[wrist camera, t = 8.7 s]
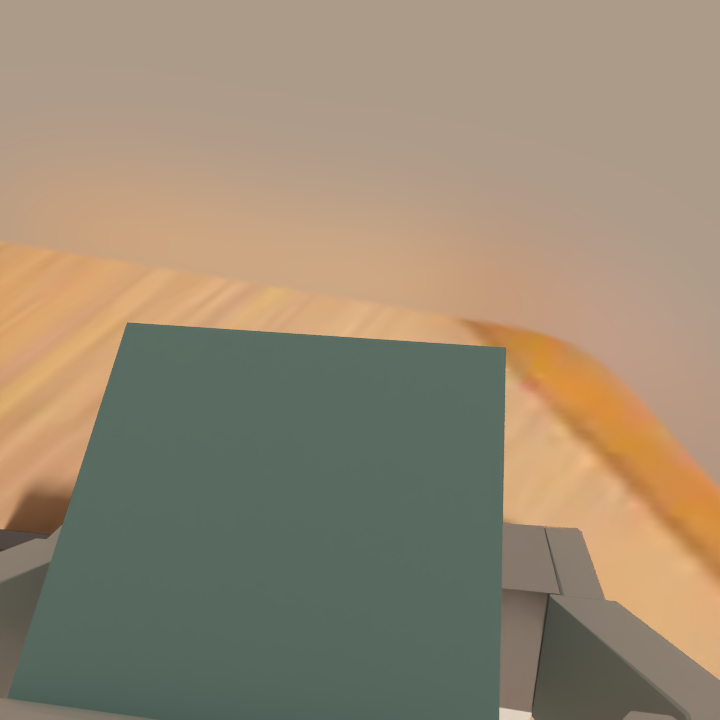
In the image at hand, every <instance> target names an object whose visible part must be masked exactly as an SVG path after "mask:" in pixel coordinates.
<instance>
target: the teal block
mask: <svg viewBox="0 0 720 720" xmlns="http://www.w3.org/2000/svg"><path fill="white" fill-rule="evenodd" d="M505 364H506V348H501V347H486V346H471V345H456V344H441V343H426V342H411V341H396V340H381V339H366V338H351V337H336V336H321V335H306V334H291V333H276V332H261V331H246V330H231V329H216V328H200V327H185V326H170V325H155V324H140V323H127V325H126V328H125V331H124V334H123V337H122V340H121V343H120V346H119V350H118V353H117V356H116V359H115V362H114V365H113V368H112V371H111V375H110V378H109V381H108V384H107V387H106V390H105V393H104V396H103V400H102V403H101V406H100V409H99V412H98V415H97V418H96V421H95V425H94V428H93V431H92V434H91V437H90V440H89V443H88V446H87V450H86V453H85V456H84V459H83V462H82V465H81V468H80V471H79V475H78V478H77V481H76V484H75V487H74V490H73V493H72V496H71V500H70V503H69V506H68V509H67V512H66V515H65V518H64V521H63V525H62V528H61V531H60V534H59V537H58V540H57V543H56V546H55V549H54V553H53V556H52V559H51V562H50V565H49V568H48V571H47V574H46V578H45V581H44V584H43V587H42V590H41V593H40V596H39V599H38V603H37V606H36V609H35V612H34V615H33V618H32V621H31V624H30V628H29V631H28V634H27V637H26V640H25V643H24V646H23V649H22V653H21V656H20V659H19V662H18V665H17V668H16V671H15V674H14V678H13V681H12V684H11V687H10V690H9V693H8V696H7V698H9V699H16V700H23V701H30V702H37V703H44V704H51V705H58V706H65V707H72V708H79V709H86V710H94V711H101V712H108V713H115V714H122V715H129V716H136V717H143V718H150V719H157V720H499V706H500V649H501V592H502V535H503V478H504V421H505Z"/></svg>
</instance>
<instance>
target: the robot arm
mask: <svg viewBox="0 0 720 720" xmlns="http://www.w3.org/2000/svg"><path fill="white" fill-rule="evenodd" d="M62 525H63V524H62ZM62 525H61V526H60V527H59V528H58V529H57V530H56V531H55V532H54V533H53V534H52V535H51V536H49V537H48V538H47V539H39V538H36V539H33V540H31V541H28V542H25V543H23V544H20V545H17V546H15V547H12V548H9V549H7V550H4V551H1V552H0V720H157V719H150V718H143V717H136V716H129V715H122V714H115V713H108V712H101V711H94V710H86V709H79V708H72V707H65V706H58V705H51V704H44V703H37V702H30V701H23V700H16V699H9V698H7V696H8V693H9V690H10V687H11V684H12V681H13V678H14V674H15V671H16V668H17V665H18V662H19V659H20V656H21V653H22V649H23V646H24V643H25V640H26V637H27V634H28V631H29V628H30V624H31V621H32V618H33V615H34V612H35V609H36V606H37V603H38V599H39V596H40V593H41V590H42V587H43V584H44V581H45V578H46V574H47V571H48V568H49V565H50V562H51V559H52V556H53V553H54V549H55V546H56V543H57V540H58V537H59V534H60V531H61V528H62ZM499 708H505V709H512V710H518V711H524V712H531V713H532V717H533V718H534V719H535V720H720V680H718V679H717V678H716V677H715V676H713V675H712V674H711V673H709V672H708V671H707V670H705V669H704V668H703V667H701V666H700V665H699V664H698V663H696V662H695V661H694V660H692V659H691V658H690V657H688V656H687V655H686V654H684V653H683V652H682V651H681V650H679V649H678V648H677V647H675V646H674V645H673V644H671V643H670V642H669V641H667V640H666V639H665V638H664V637H662V636H661V635H660V634H658V633H657V632H656V631H654V630H653V629H652V628H650V627H649V626H648V625H647V624H645V623H644V622H643V621H641V620H640V619H639V618H637V617H636V616H635V615H633V614H632V613H631V612H630V611H628V610H627V609H626V608H624V607H623V606H622V605H620V604H619V603H618V602H616V601H608V600H605V597H604V594H603V591H602V589H601V586H600V583H599V580H598V577H597V574H596V571H595V569H594V566H593V563H592V560H591V557H590V554H589V552H588V549H587V546H586V543H585V540H584V537H583V534H582V532H581V531H580V530H579V529H577V528H562V527H545V526H532V525H519V524H505V523H503V535H502V592H501V649H500V706H499Z"/></svg>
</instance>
